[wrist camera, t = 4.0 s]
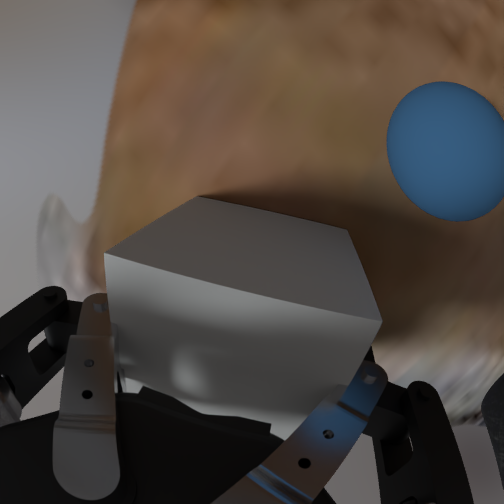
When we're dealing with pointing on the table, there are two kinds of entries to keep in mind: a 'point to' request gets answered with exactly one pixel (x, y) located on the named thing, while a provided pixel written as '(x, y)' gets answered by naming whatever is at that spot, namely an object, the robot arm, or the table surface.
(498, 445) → the travel mug
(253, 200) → the table surface
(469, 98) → the ball
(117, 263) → the matte gray cube
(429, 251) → the table surface
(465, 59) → the table surface
